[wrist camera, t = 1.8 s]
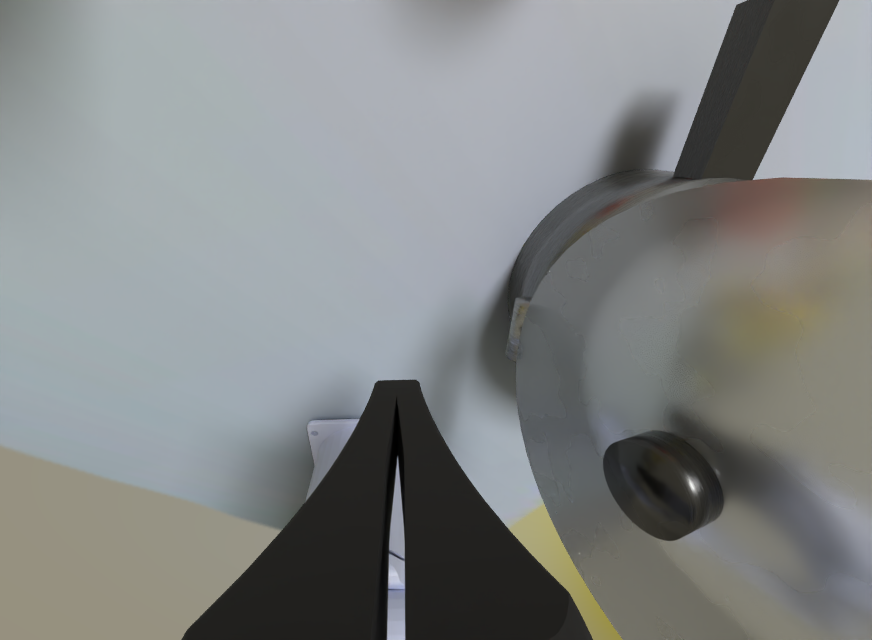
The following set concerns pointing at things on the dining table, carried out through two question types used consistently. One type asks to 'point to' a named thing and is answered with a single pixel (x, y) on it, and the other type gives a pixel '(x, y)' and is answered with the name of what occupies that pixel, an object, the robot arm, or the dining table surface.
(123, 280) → the dining table surface
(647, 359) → the cooker lid
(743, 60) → the cooker pot
